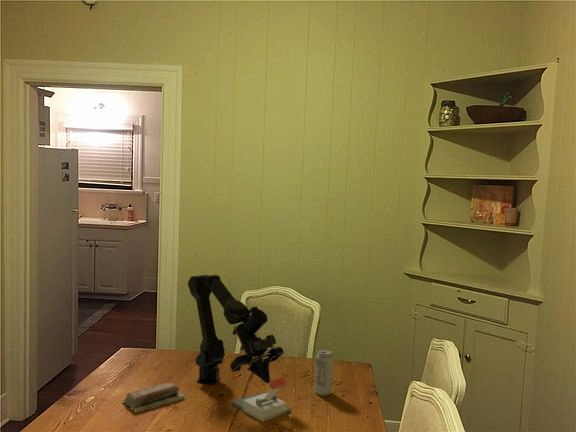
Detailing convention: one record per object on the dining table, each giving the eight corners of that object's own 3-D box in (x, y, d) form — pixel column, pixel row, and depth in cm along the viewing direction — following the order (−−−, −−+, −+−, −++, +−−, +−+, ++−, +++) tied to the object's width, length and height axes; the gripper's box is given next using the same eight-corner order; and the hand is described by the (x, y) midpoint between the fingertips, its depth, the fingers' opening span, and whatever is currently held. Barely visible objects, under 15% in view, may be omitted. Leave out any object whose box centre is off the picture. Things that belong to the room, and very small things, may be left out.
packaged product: (136, 400, 166) (121, 390, 173) (136, 415, 166) (121, 404, 173) (185, 386, 178) (169, 377, 186) (185, 400, 179) (169, 390, 186)
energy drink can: (334, 394, 187) (337, 353, 186) (321, 397, 184) (323, 355, 183) (324, 388, 192) (326, 348, 191) (311, 391, 189) (313, 350, 188)
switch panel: (231, 404, 176) (232, 389, 175) (259, 395, 184) (260, 380, 184) (262, 422, 164) (262, 405, 164) (290, 411, 172) (291, 396, 172)
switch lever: (258, 399, 169) (271, 380, 164) (270, 396, 173) (283, 377, 168) (261, 405, 168) (274, 385, 163) (273, 401, 171) (286, 382, 167)
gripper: (237, 332, 166) (257, 377, 158) (282, 322, 178) (302, 364, 171) (221, 349, 172) (240, 394, 165) (265, 339, 185) (285, 380, 177)
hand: (268, 382), depth 169 cm, fingers closed
